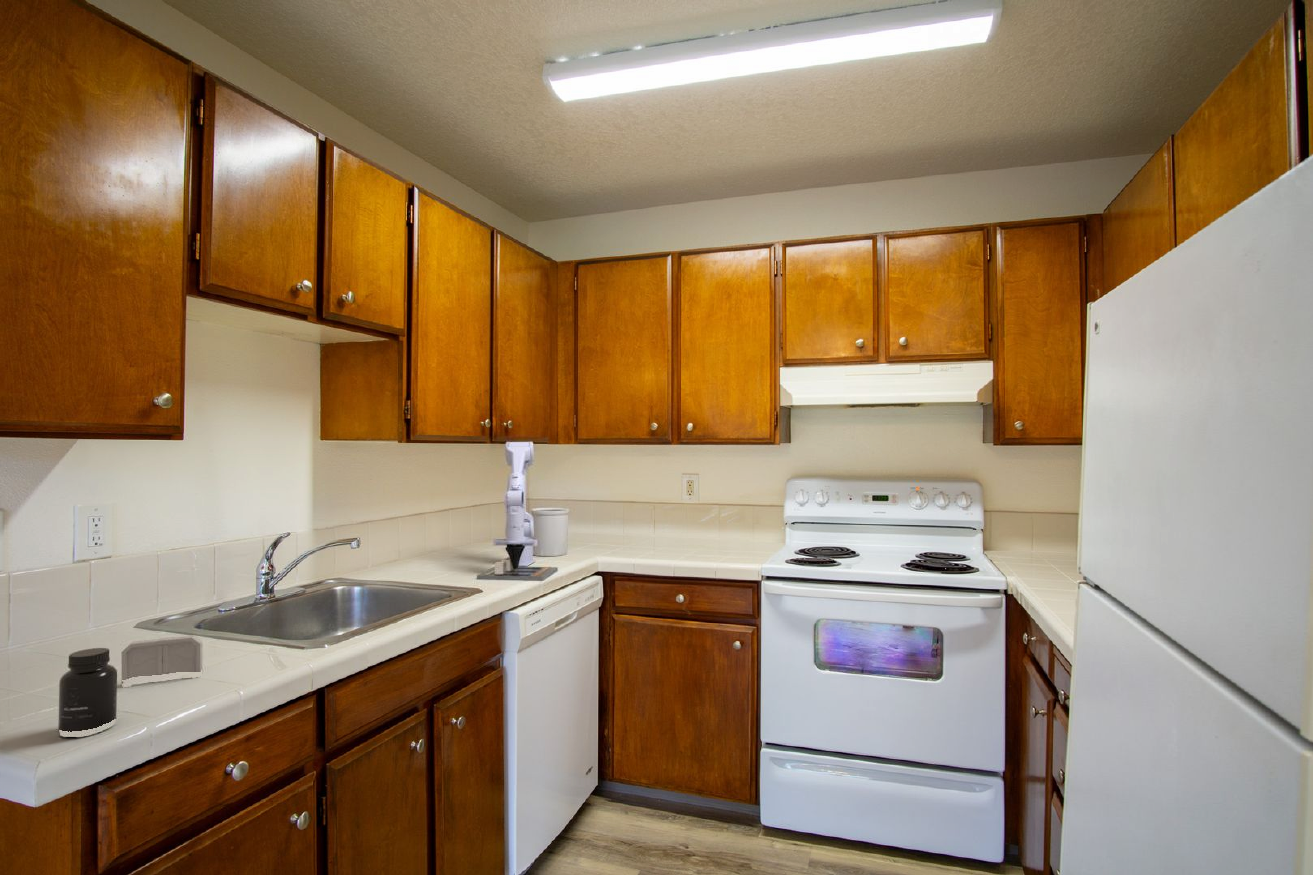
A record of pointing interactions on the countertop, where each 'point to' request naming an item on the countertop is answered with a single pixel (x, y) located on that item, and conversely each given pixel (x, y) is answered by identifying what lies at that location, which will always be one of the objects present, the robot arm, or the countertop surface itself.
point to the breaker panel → (517, 573)
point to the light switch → (162, 656)
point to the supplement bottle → (87, 691)
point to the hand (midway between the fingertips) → (515, 567)
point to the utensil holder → (550, 531)
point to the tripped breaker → (508, 564)
